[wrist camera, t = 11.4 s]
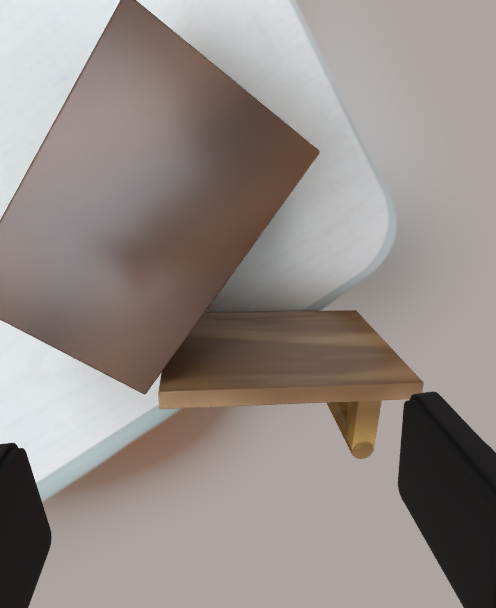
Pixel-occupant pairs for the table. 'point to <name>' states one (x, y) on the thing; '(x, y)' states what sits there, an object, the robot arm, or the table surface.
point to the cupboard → (141, 201)
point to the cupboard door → (290, 367)
